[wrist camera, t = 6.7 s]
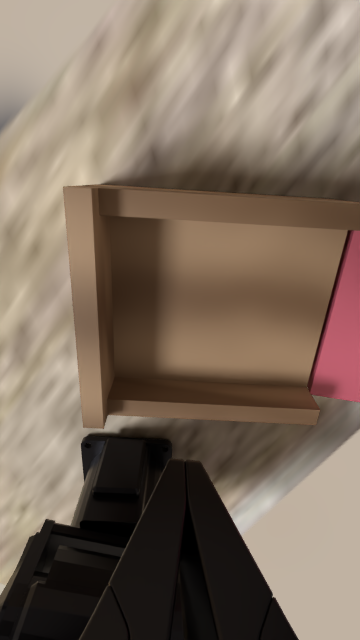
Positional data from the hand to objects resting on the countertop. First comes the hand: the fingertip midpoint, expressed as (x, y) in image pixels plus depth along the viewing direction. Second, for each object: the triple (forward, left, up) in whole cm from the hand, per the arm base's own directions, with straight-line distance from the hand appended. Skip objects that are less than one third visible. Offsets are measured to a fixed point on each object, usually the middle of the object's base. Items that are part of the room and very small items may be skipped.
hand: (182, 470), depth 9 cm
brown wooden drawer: (+1, -1, -12) cm, 12 cm away
